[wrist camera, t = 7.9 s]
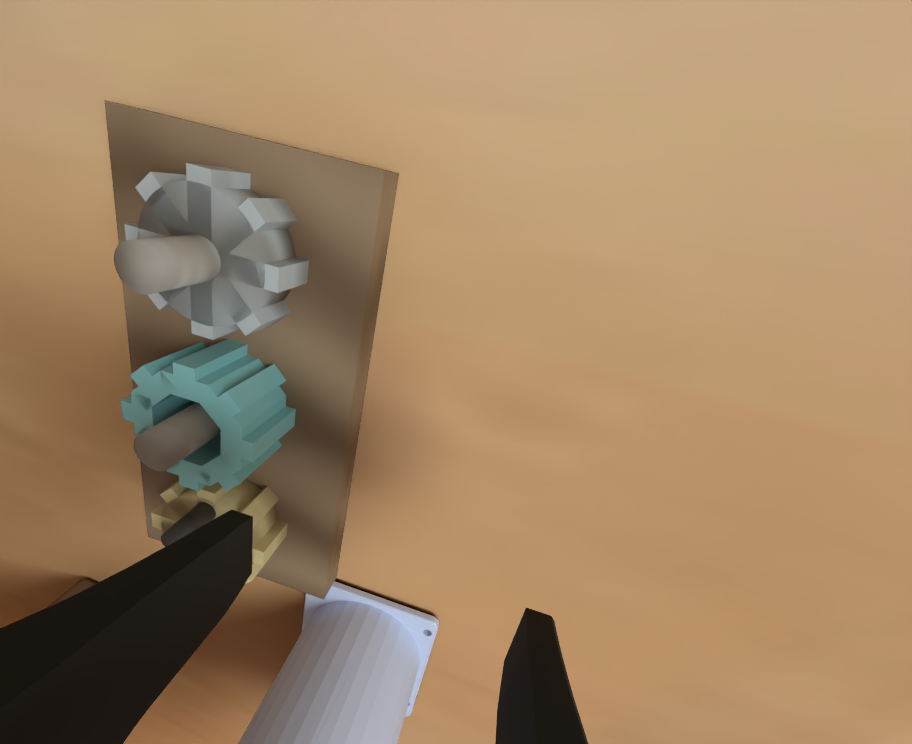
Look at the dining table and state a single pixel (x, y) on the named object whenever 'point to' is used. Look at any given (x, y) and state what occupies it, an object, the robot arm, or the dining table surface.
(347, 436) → the gear board
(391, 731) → the robot arm
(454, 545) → the dining table surface
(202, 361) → the teal gear
